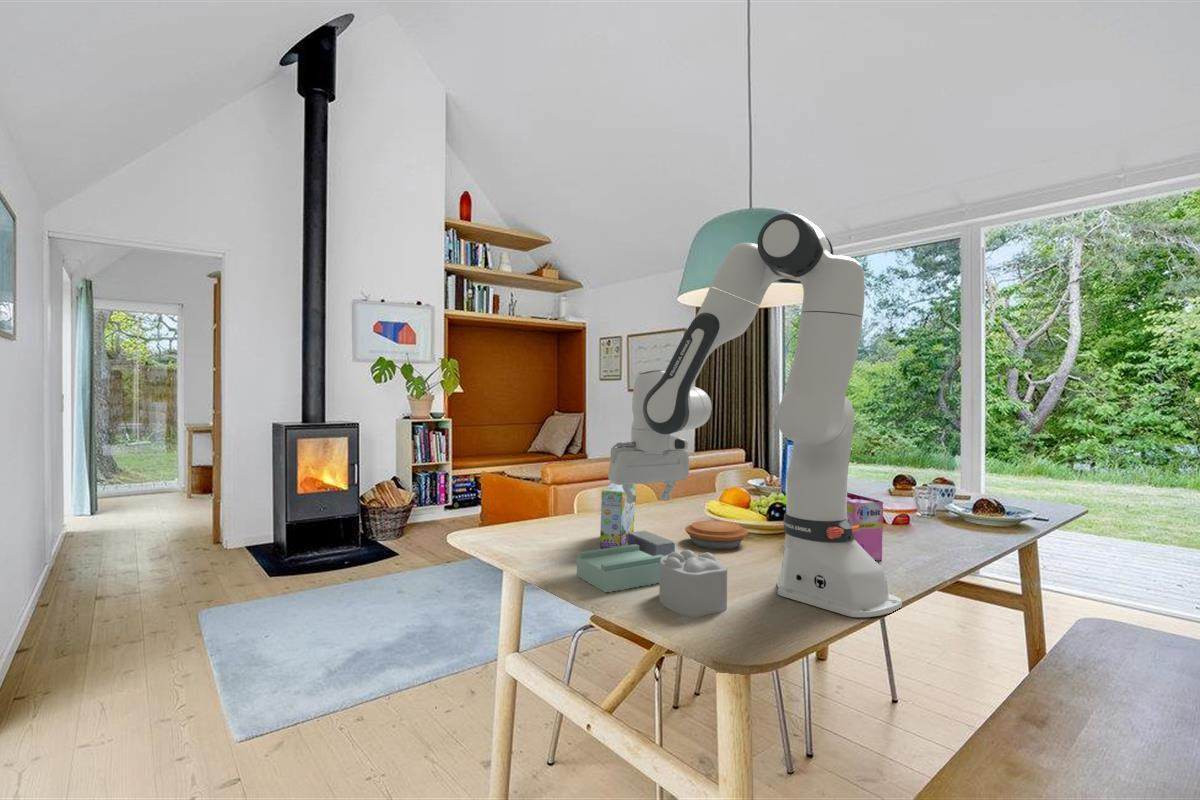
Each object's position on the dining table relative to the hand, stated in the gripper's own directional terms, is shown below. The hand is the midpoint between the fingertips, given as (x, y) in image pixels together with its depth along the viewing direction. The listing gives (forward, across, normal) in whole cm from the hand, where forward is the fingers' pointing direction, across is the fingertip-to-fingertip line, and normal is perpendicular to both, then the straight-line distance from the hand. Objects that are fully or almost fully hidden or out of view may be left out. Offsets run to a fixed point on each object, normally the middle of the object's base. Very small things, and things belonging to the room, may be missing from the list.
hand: (648, 501), depth 136 cm
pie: (+13, +22, +2) cm, 26 cm away
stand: (+13, -14, -11) cm, 22 cm away
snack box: (+13, 0, +13) cm, 19 cm away
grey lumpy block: (+13, -10, -28) cm, 32 cm away
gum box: (+12, +45, -16) cm, 50 cm away
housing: (+13, 0, -1) cm, 13 cm away
